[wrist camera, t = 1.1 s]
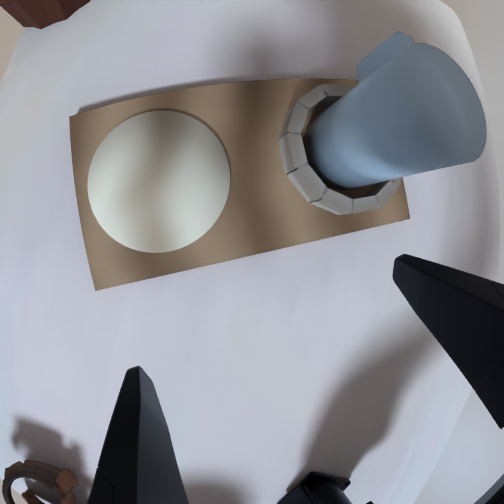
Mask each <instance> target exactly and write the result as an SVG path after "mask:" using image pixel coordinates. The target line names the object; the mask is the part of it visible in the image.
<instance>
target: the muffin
mask: <svg viewBox="0 0 504 504" xmlns="http://www.w3.org/2000/svg"><path fill="white" fill-rule="evenodd" d="M89 1H90V0H0V6H1V7H2V8H3V9H5V10H6V11H7V12H8V13H9V14H10V15H11V16H12V17H14V18H15V19H16V20H17V21H18V22H19V23H20V24H21V25H22V26H23V27H35V28H39V29H43V28H45V27H47V26H49V25H51V24H53V23H56V22H59V21H63V20H66V19H68V18H69V17H70V16H71V15H72V14H73V13H74V12H75V11H77V10H78V9H79V8H81V7H82V6H84V5H85V4H87V3H88V2H89Z"/></svg>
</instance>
